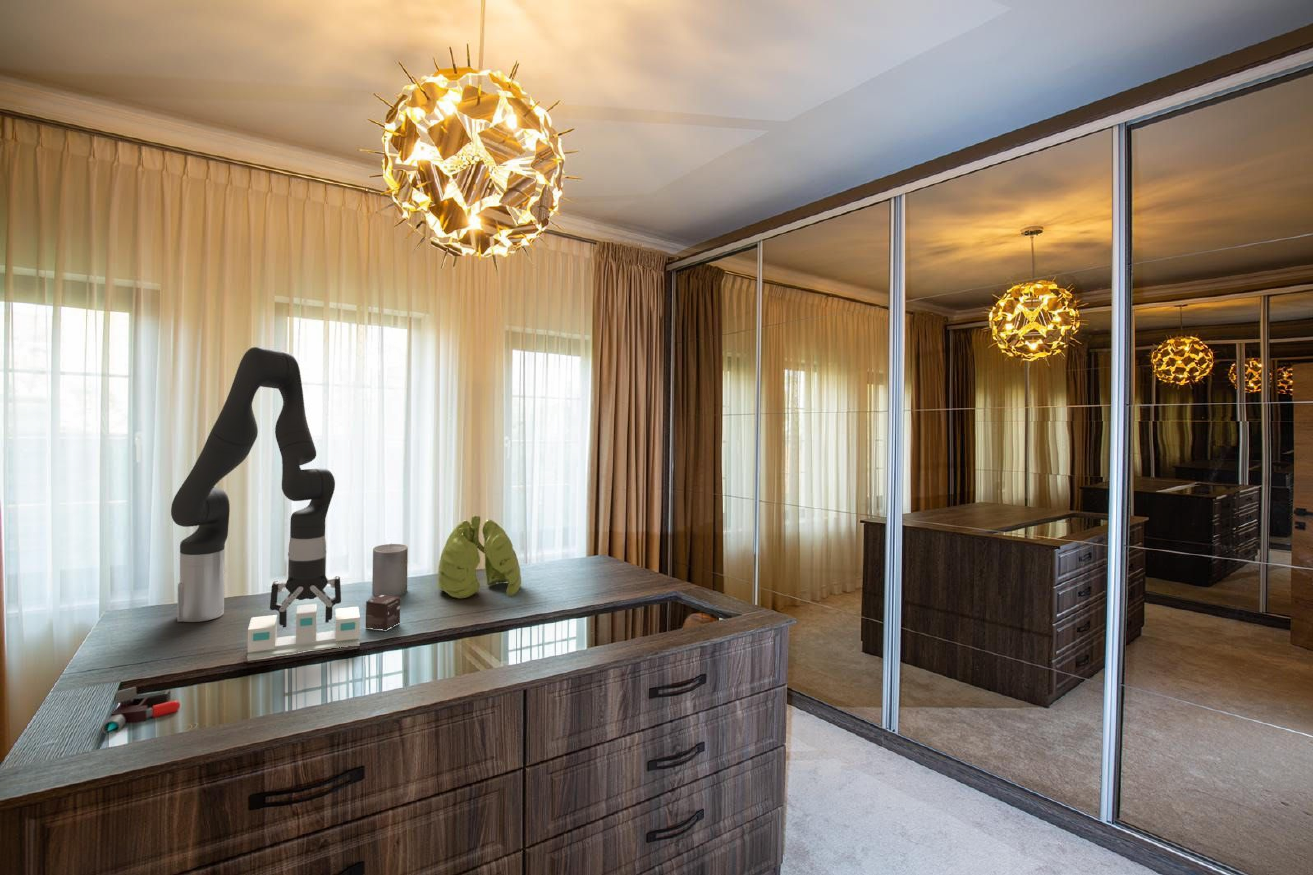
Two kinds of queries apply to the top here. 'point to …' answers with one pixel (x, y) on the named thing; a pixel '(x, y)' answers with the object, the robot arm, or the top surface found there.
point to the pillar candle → (390, 570)
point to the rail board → (268, 644)
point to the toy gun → (139, 707)
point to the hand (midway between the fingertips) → (306, 624)
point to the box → (382, 612)
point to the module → (306, 623)
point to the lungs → (477, 559)
